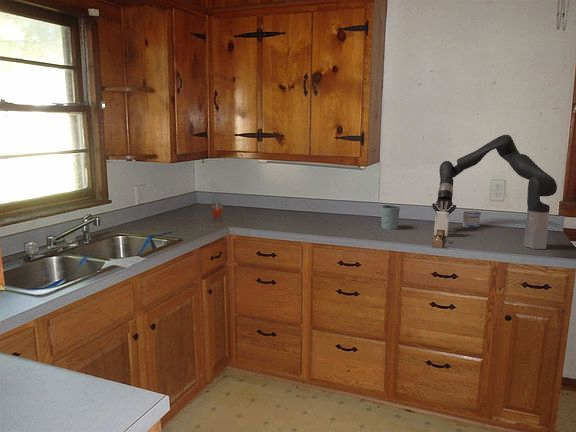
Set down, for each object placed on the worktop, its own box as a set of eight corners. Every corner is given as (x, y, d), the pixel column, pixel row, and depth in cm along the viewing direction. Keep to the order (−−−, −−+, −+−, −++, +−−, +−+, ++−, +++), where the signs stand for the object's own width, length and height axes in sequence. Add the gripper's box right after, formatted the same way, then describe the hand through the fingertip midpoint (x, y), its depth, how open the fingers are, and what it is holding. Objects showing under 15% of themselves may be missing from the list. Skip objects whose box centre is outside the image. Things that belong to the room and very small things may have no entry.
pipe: (437, 230, 271) (438, 224, 270) (454, 231, 268) (455, 225, 267) (432, 247, 236) (432, 240, 235) (451, 249, 233) (451, 242, 232)
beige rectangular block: (434, 233, 262) (436, 211, 260) (447, 234, 260) (449, 212, 258) (433, 235, 258) (435, 212, 255) (446, 236, 255) (448, 213, 253)
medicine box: (467, 228, 275) (468, 212, 274) (462, 226, 280) (463, 211, 278) (479, 227, 278) (481, 212, 276) (474, 225, 282) (475, 210, 280)
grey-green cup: (385, 230, 269) (386, 208, 267) (376, 226, 279) (377, 205, 276) (402, 229, 272) (403, 207, 269) (393, 225, 281) (394, 204, 279)
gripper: (458, 198, 273) (455, 224, 264) (432, 196, 278) (429, 222, 269) (458, 189, 267) (455, 216, 258) (432, 188, 272) (429, 214, 263)
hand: (442, 219), depth 264 cm, fingers closed
